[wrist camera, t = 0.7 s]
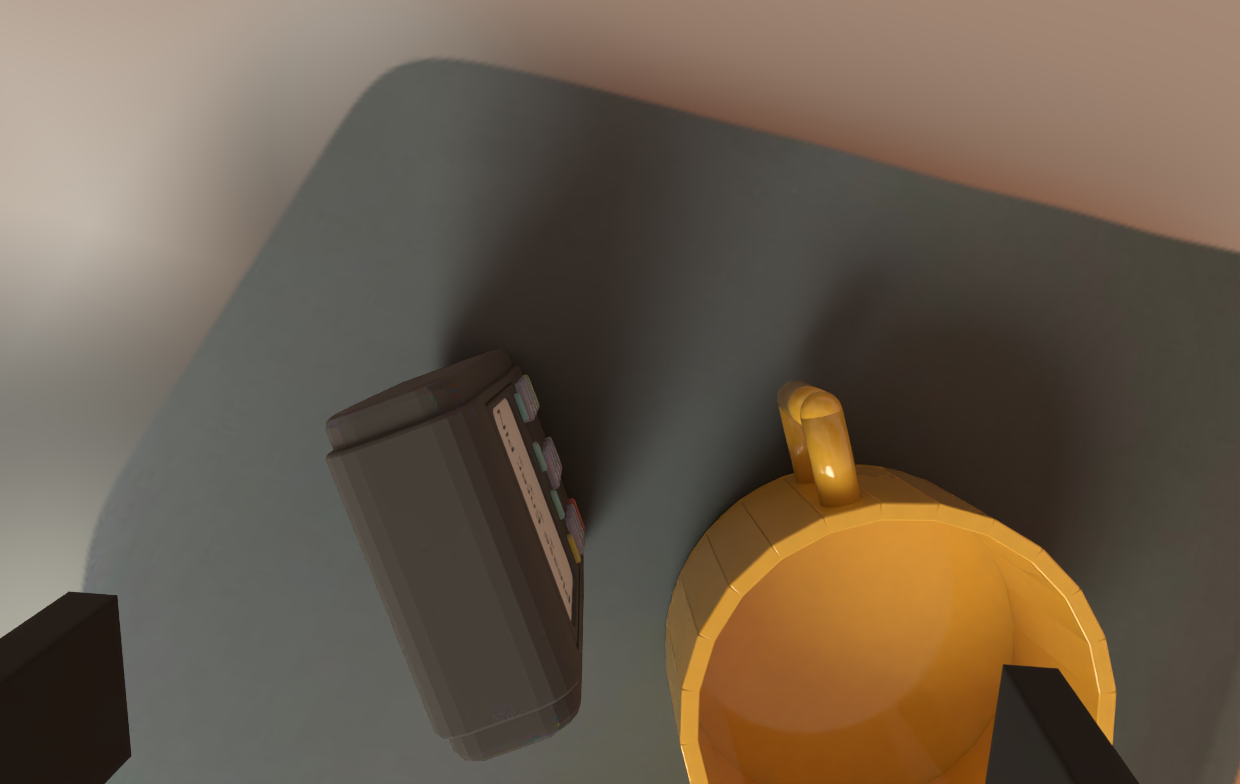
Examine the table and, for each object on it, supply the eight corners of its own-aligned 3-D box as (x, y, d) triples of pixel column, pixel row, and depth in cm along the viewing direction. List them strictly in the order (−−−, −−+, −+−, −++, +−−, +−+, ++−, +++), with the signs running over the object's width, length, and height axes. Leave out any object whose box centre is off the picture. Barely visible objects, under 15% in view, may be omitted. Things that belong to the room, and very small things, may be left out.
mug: (1052, 762, 39) (1152, 864, 32) (711, 847, 39) (737, 968, 32) (962, 331, 37) (1047, 341, 30) (603, 421, 37) (605, 452, 30)
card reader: (599, 557, 38) (605, 733, 23) (502, 592, 38) (444, 790, 23) (517, 336, 37) (466, 368, 22) (418, 372, 37) (299, 428, 22)
